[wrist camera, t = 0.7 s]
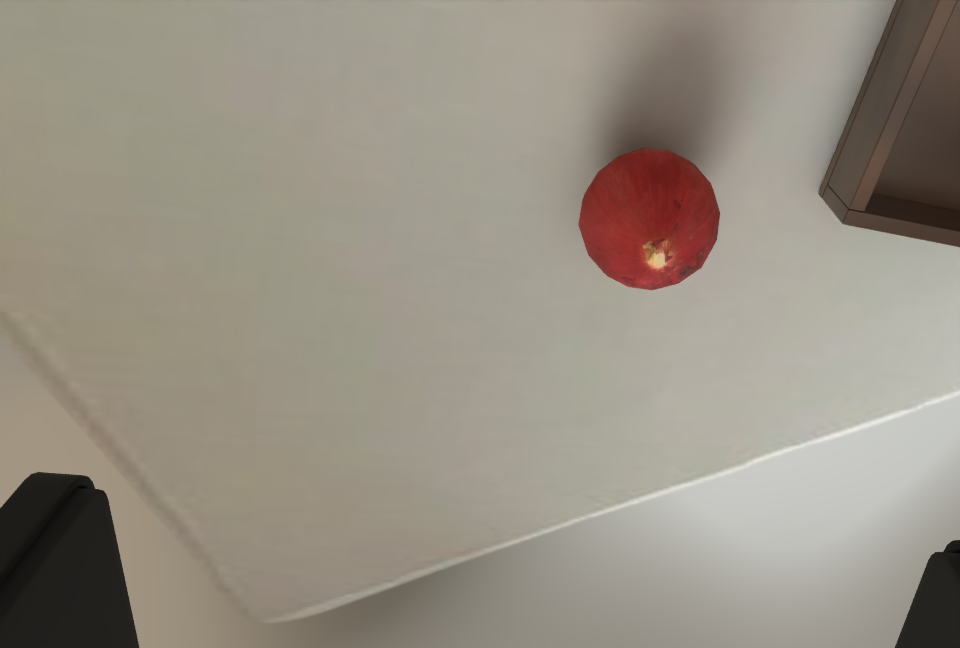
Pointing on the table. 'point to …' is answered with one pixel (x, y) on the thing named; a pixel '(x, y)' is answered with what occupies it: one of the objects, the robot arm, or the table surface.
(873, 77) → the organizer
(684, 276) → the red round fruit
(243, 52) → the table surface
